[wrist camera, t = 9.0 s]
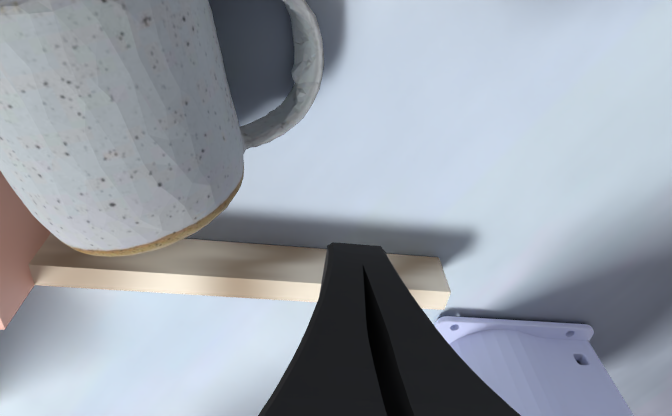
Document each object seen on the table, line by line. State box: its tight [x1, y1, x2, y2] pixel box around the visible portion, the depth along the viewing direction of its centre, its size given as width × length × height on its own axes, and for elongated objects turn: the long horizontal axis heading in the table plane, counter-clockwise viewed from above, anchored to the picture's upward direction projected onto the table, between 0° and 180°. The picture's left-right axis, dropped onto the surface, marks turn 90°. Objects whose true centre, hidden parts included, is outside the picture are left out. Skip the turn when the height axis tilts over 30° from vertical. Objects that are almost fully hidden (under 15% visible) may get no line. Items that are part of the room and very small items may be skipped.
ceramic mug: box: [0, 0, 324, 257], centre depth 15 cm, size 11×8×8 cm
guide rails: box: [28, 233, 451, 310], centre depth 18 cm, size 19×16×2 cm
